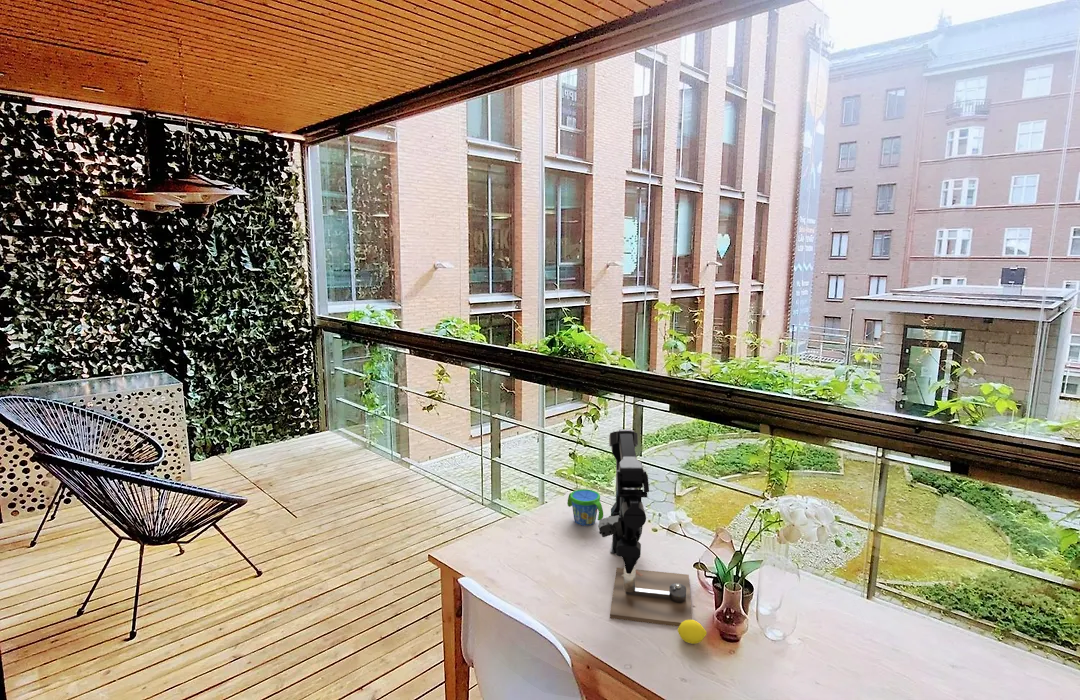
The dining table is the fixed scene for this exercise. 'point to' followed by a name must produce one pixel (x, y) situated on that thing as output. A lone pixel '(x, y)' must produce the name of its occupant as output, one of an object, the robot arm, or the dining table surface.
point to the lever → (675, 593)
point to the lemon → (691, 631)
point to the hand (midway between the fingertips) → (629, 564)
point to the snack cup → (585, 506)
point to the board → (650, 599)
